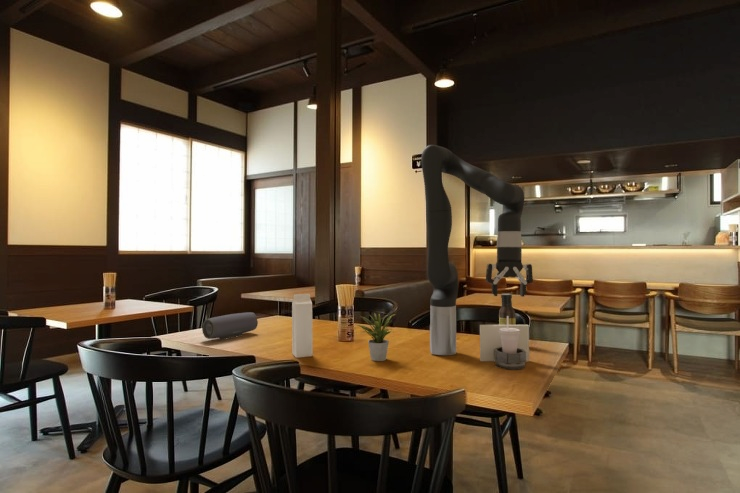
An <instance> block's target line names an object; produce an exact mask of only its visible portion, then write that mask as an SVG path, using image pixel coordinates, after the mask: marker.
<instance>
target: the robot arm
mask: <svg viewBox="0 0 740 493" xmlns="http://www.w3.org/2000/svg"><path fill="white" fill-rule="evenodd" d="M420 160H421V169H422V170H421V171H422V176H423V183H424V193H425V195H424V196H425V198H424V199H425V218H426V220H425V222H426V233H427V235H426V236H427V251H428V252H427V265H426V266H427V268H426V269H427V270H426V274H427V279H428V281H429V283H430V284H431V285H432V286H433V289H432V290H433V291H432V294H431V297H430V300H429V301H430V302H429V303H430V304H429V305H430V307H429V308H430V310H429V311H430V312H429V313H430V317H429V318H430V324H429V351H430V355H437V356H452V355H457V297H458V291H459V289H458V288H459V285H458V284H459V275H458V270H457V267H456V265H454V263H452V262H450V260H449V243H450V238H451V233H452V229H453V228H452V227H453V214H452V213H453V211H452V205H451V201H450V198H449V197H448V195H447V192H446V190H445V187H444V184H443V176H442V173H443V174H447V175H451V176H452V177H454V178H455V177H456V178H457V179H459V180H461V181H462V182H463V183H464V184H465V185H467V186H468V187H470V188H471V189H473V190H475V191H477V192H479V193H481V194H483V195H486V196H487V197H488V198H489V199H491V200H492V201H494V202H496V203H497V204H499V205H502V206H503V208H502V213H501V214H499V215H498V218H497V236H496V237H497V238H496V263H495V264H493V263H487V264H486V270H485V271H486V272H485V282H487V283H489V284H491V294H492V295H493V296H494V297H498V283H499V282H500V280H501V279H503V278H509V277H510V278H516V279H517V280H518V281H519V282H520V286H519V288H520V290H519V293H520V297H525V296H526V295H527V285H528V284H531V283H533V282H534V280H533V279H534V278H533V266H532V264H531V263H526V264H523V263H522V247H523V246H522V243H523V242H522V241H523V240H522V232H521V231H522V220H521V218H522V215H523V210H524V204H525V192H524V190H523V188H522V187H521V186H519V185H517V184H513V183H509V182H506V181H504V180H502V179H500V178H498V176H496V175H494V174H493V173H490V172H489V171H486V170H484V169H482V168H480V167H478V166H475V165H473V164H470V163H469V162H467V161H465V160H463V159H462V158H460V157H459V156H458V155H456V153H455V154H454V153H453V152H452V151H451V150H450V149H449V148H446V147H443V146H440V145H436V144H428V145H427V146H426V147H425V148H423V151H422V152H421V159H420ZM495 269H496V270H497V273H496V274H495V276H494V277H493V278H492V275H493V271H494V270H495ZM522 270H523V271H525V276H526V278H525V277H524V276H523V275H522V272H521V271H522Z"/></svg>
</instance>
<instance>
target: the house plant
mask: <svg viewBox="0 0 740 493" xmlns="http://www.w3.org/2000/svg"><path fill="white" fill-rule="evenodd" d="M373 314H374V318H373V316H371V315H370V317H371V319H372V321H371V320H370V319H368V318H367V317H364V316H362V319H363V320H364V321H365V322H366V323H367V324H368V326H370V327H371V328H369V327H368V326H365V325H363V324H362V325H361V324H356V326H357V327H360V328H359V329H362V330H363V331H361V332H360V334H362V333H366V334H368V335H369V336H370V337H371V338H372V339H370V340H368V341H367V343H368V349H369V354H370V359H371V361H373V362H384V361H386V360H387V357H388V356H387V355H388V349H389V348H388V347H389V342H390V341H389V340H388V339H385V337H386V336H387V335H388V334H391V333H393V330H392V329H391V328H389V329H388V328H387V327H388V326H389V324H390V323H391V322H390V321H391V318H392V317H393V316H395V315H396V314H395V313H394V314H391V315H389V314H387V315H384V317H383V318H382V319H381V315H380V313H378V316H377V314H376V313H375V312H374V313H373ZM359 317H360V318H361V315H360V316H359ZM384 320H385V321H384ZM383 323H384V324H383ZM382 325H383V326H382Z"/></svg>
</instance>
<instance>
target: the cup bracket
mask: <svg viewBox="0 0 740 493" xmlns="http://www.w3.org/2000/svg"><path fill="white" fill-rule="evenodd" d="M494 359H495V361H494V366H495V367H496V368H498V369H502V370H507V371H518V370H519V371H520V370H524V369H525V368H526V362H527V361H526V351H524V350H523V349H520V348H517V353H504V352H503V350H502V347H498V348H495V349H494Z"/></svg>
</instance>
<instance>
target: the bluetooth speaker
mask: <svg viewBox="0 0 740 493" xmlns="http://www.w3.org/2000/svg"><path fill="white" fill-rule="evenodd" d="M258 322H259V321H258V317H257V315H256V314H255V313H254V312H252V311H251V312H250V311H249V312H247V311H246V312H238V313H237V312H236V313H230V314H229V313H228V314H225V315H221V316H220V315H219V316H214V317H210V318H207V319H204V321H203V323H202V331H201V332H202V334H203V336H204V338H206V340H207V339H208V340H210V339H211V340H214V339H220V340H227V339H226V338H229V339H232V338H231V337H234V338H237V337H236V336H238V337H241V335H242V336H243V334H245V333H249V332H253V331H254V330H256V329H257V327H258V325H259V324H258Z"/></svg>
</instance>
